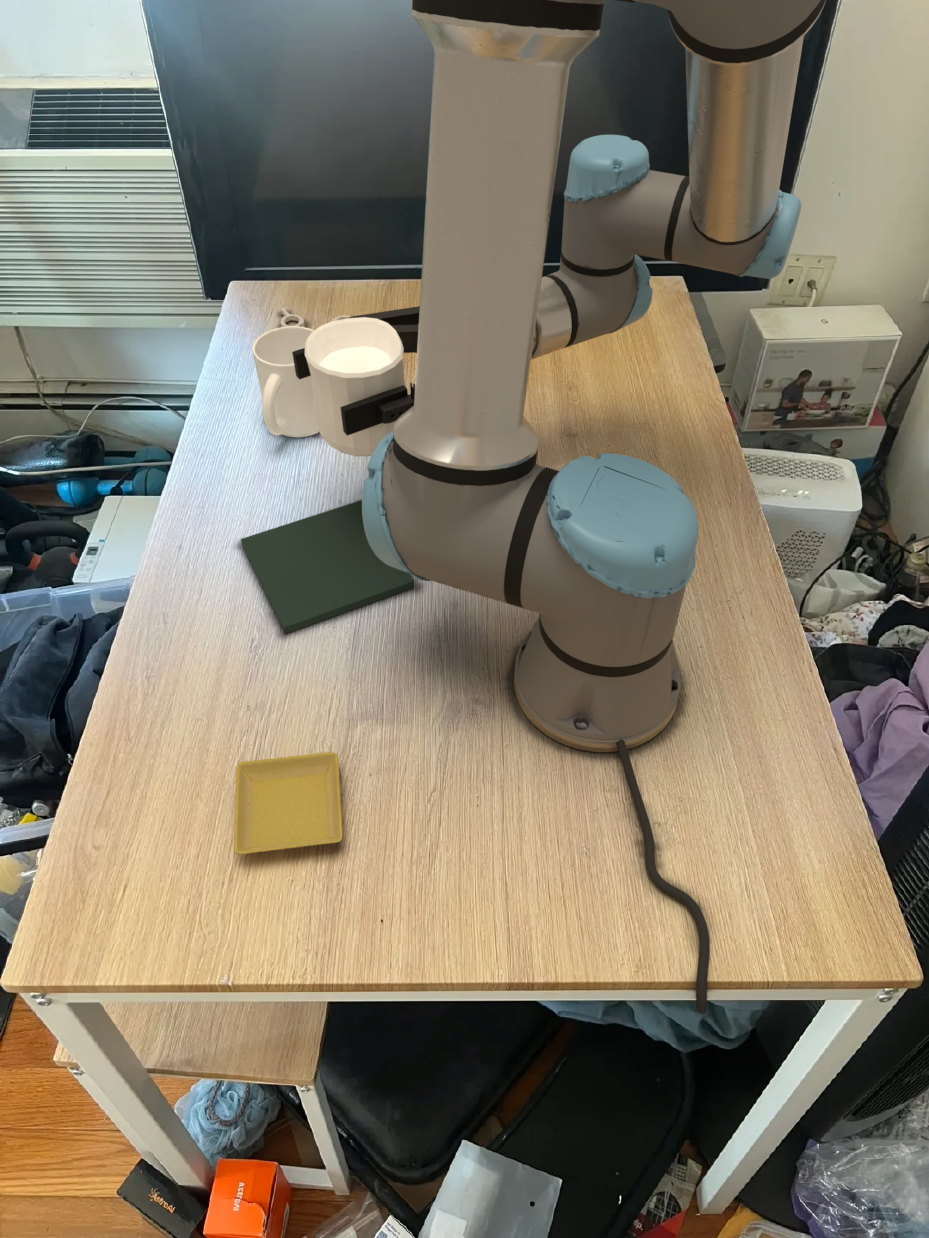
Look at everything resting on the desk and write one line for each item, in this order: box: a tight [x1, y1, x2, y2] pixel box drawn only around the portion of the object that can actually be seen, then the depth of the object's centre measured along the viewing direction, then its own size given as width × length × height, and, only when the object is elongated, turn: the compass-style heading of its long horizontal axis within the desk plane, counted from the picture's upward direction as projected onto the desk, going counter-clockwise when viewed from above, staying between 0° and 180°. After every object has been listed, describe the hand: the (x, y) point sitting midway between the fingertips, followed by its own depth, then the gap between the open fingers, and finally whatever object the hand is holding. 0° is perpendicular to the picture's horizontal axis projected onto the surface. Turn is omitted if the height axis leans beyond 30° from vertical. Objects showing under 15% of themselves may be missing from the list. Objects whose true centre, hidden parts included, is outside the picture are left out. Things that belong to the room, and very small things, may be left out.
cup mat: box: [240, 499, 415, 634], centre depth 95 cm, size 14×14×1 cm
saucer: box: [233, 751, 344, 855], centre depth 76 cm, size 9×9×2 cm
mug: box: [251, 325, 320, 438], centre depth 108 cm, size 12×8×10 cm
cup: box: [305, 317, 407, 457], centre depth 88 cm, size 10×10×10 cm
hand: (318, 392), depth 86 cm, fingers closed on cup, 10 cm apart
